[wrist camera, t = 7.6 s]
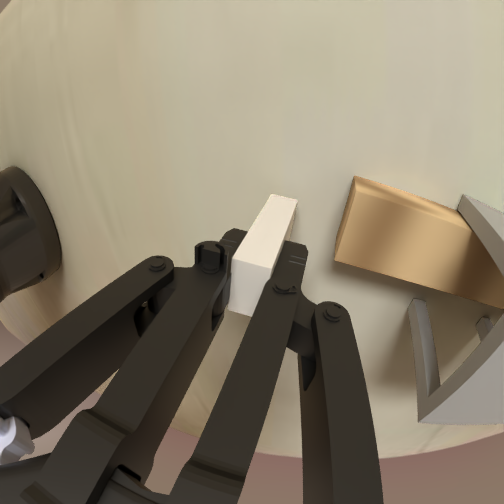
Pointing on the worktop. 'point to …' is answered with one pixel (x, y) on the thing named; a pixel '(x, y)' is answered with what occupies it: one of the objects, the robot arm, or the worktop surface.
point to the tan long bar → (416, 243)
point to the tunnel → (482, 358)
